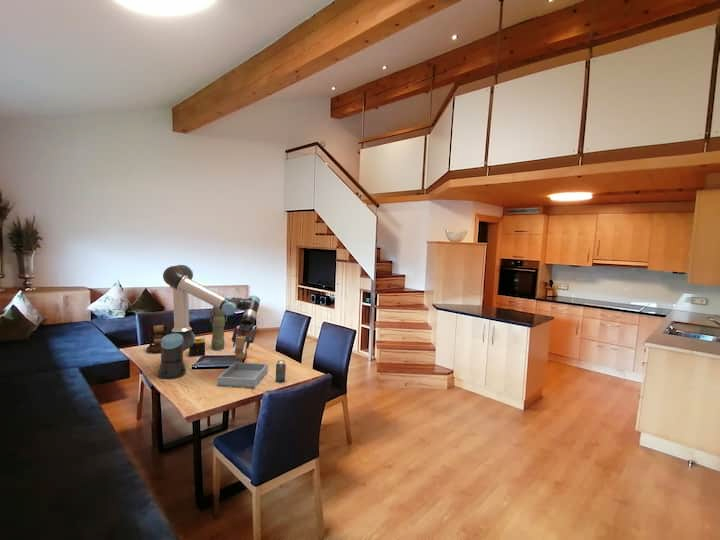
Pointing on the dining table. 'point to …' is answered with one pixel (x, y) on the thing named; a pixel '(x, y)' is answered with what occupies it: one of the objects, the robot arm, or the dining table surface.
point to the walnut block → (240, 347)
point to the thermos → (217, 328)
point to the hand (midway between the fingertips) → (238, 352)
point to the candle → (197, 348)
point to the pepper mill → (280, 371)
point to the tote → (243, 375)
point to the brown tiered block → (156, 337)
